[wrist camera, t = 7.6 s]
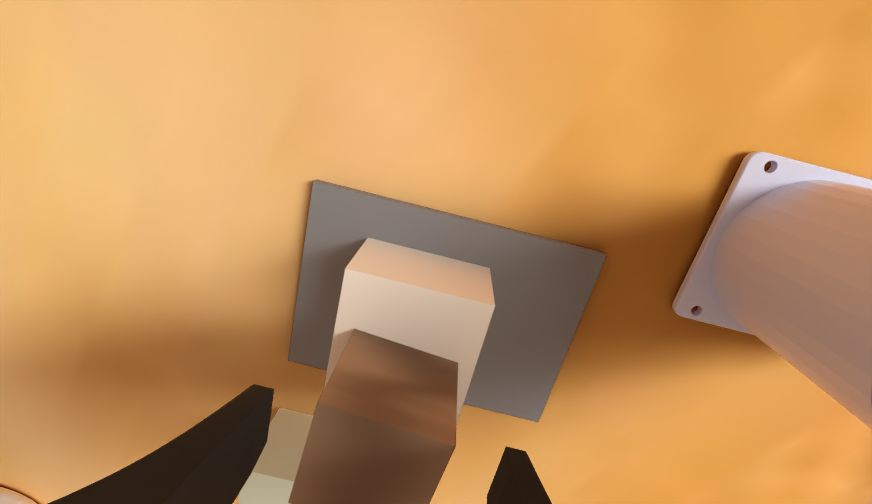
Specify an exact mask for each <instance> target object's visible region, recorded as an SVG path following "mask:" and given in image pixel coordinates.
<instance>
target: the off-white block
mask: <svg viewBox="0 0 872 504" xmlns="http://www.w3.org/2000/svg"><path fill="white" fill-rule="evenodd" d="M494 308H495V301H494V294H493V287H492V280H491V273H490V268H488V267H484V266H480V265H476V264H472V263H468V262H464V261H460V260H456V259H452V258H448V257H444V256H440V255H436V254H432V253H428V252H424V251H420V250H416V249H412V248H408V247H404V246H400V245H396V244H392V243H388V242H384V241H380V240H376V239H372V238H367V239H366V241H365V242H364V244H363V245H362V246H361V248H360V249H359V250H358V252H357V253H356V254H355V256H354V257H353V259H352V260H351V261H350V263H349V264H348V265H347V267H346V268H345V273H344V278H343V284H342V289H341V295H340V300H339V306H338V312H337V317H336V323H335V328H334V334H333V339H332V345H331V351H330V356H329V362H328V367H327V373H326V379H325V384H324V388H325V386H326V384H327V382H328V380H329V378H330V376H331V374H332V372H333V370H334V368H335V366H336V364H337V362H338V360H339V358H340V356H341V354H342V352H343V350H344V348H345V346H346V344H347V342H348V340H349V338H350V336H351V334H352V332H353V330H354V329H357V330H360V331H363V332H366V333H369V334H373V335H376V336H379V337H382V338H385V339H388V340H391V341H394V342H397V343H400V344H403V345H406V346H409V347H412V348H415V349H418V350H421V351H424V352H427V353H430V354H433V355H436V356H439V357H442V358H445V359H448V360H451V361H454V362H457V363H458V386H457V417H456V425H457V422H458V419H459V416H460V412H461V409H462V406H463V403H464V400H465V397H466V394H467V391H468V388H469V385H470V382H471V379H472V376H473V372H474V369H475V366H476V363H477V360H478V357H479V354H480V351H481V348H482V345H483V342H484V339H485V335H486V332H487V329H488V326H489V323H490V320H491V317H492V314H493V311H494Z"/></svg>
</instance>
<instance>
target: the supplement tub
mask: <svg viewBox="0 0 872 504" xmlns="http://www.w3.org/2000/svg"><path fill="white" fill-rule="evenodd" d="M0 504H37V503H36V502H34V501H33V500H31V499H29V498H28V497H26V496H24V495H22V494H20V493H17V492H15V491H12V490H9V489H6V488H3V487H0Z"/></svg>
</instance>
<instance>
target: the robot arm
mask: <svg viewBox="0 0 872 504" xmlns="http://www.w3.org/2000/svg"><path fill="white" fill-rule="evenodd" d="M769 161H770V162H771V167H770V168H769V169H768V170H767V171H765V170H764V166H765V164H766V163H767V162H769ZM694 306H698V308H697V310H696V311H693V312H691V309H692V308H693V307H694ZM672 308H673V310H674V311H675V313H676V314H677V315H679V316H681V317H685V318H689V319H693V320H697V321H700V322H704V323H708V324H712V325H716V326H720V327H724V328H728V329H732V330H736V331H740V332H744V333H748V334H752V335H755V336H757V337H758V338H759V339H760V340H762V341H763V342H764V343H765V344H767V345H768V346H769V347H770V348H771V349H773V350H774V351H775V352H776V353H778V354H779V355H780V356H781V357H783V358H784V359H785V360H786V361H788V362H789V363H790V364H791V365H793V366H794V367H795V368H796V369H798V370H799V371H800V372H801V373H803V374H804V375H805V376H806V377H807V378H809V379H810V380H811V381H812V382H814V383H815V384H816V385H817V386H819V387H820V388H821V389H822V390H824V391H825V392H826V393H827V394H829V395H830V396H831V397H832V398H834V399H835V400H836V401H837V402H839V403H840V404H841V405H842V406H843V407H845V408H846V409H847V410H848V411H850V412H851V413H852V414H853V415H855V416H856V417H857V418H858V419H860V420H861V421H862V422H863V423H865V424H866V425H867V426H868V427H870V428H871V429H872V180H871V179H867V178H863V177H859V176H855V175H851V174H848V173H844V172H840V171H836V170H832V169H828V168H824V167H821V166H817V165H813V164H809V163H805V162H801V161H797V160H794V159H790V158H786V157H782V156H778V155H774V154H770V153H767V152H762V151H753V152H750V153H749V154H747V155H746V156H745V158H744V159H743V161H742V163H741V165H740V167H739V169H738V171H737V173H736V175H735V177H734V179H733V181H732V183H731V185H730V187H729V189H728V191H727V193H726V195H725V197H724V199H723V201H722V203H721V205H720V208H719V210H718V212H717V214H716V216H715V218H714V220H713V222H712V224H711V226H710V228H709V230H708V232H707V234H706V236H705V238H704V240H703V242H702V244H701V246H700V248H699V250H698V252H697V254H696V257H695V259H694V261H693V263H692V265H691V267H690V269H689V271H688V273H687V275H686V277H685V279H684V281H683V283H682V285H681V287H680V289H679V291H678V293H677V295H676V297H675V299H674V301H673V304H672ZM273 393H274V389H271V388H267V387H263V386H259V385H255V384H254V385H252V386H250V387H249V388H248V389H246V390H245V391H243V392H242V393H241V394H239V395H238V396H237V397H235V398H234V399H233V400H231V401H230V402H228V403H227V404H226V405H224V406H223V407H221V408H220V409H219V410H217V411H216V412H214V413H213V414H212V415H210V416H209V417H207V418H206V419H204V420H203V421H201V422H200V423H198V424H197V425H195V426H194V427H192V428H191V429H189V430H188V431H186V432H185V433H183V434H181V435H180V436H178V437H177V438H175V439H173V440H172V441H170V442H169V443H167V444H165V445H164V446H162V447H160V448H159V449H157V450H155V451H154V452H152V453H150V454H149V455H147V456H145V457H143V458H142V459H140V460H138V461H136V462H134V463H132V464H131V465H129V466H127V467H125V468H123V469H121V470H119V471H117V472H115V473H113V474H111V475H109V476H107V477H105V478H103V479H101V480H99V481H97V482H95V483H93V484H91V485H89V486H86V487H84V488H82V489H80V490H78V491H76V492H73V493H71V494H69V495H67V496H65V497H62V498H60V499H58V500H55V501H53V502H50V503H48V504H232V503H233V502H234V500H235V499H236V497H237V496H238V494H239V492H240V491H241V489H242V488H243V486H244V485H245V483H246V481H247V480H248V478H249V476H250V475H251V473H252V471H253V469H254V467H255V465H256V463H257V461H258V459H259V457H260V455H261V453H262V451H263V449H264V447H265V445H266V443H267V439H268V431H269V424H270V416H271V408H272V401H273ZM487 504H552V503H551V501H550V499H549V497H548V495H547V493H546V491H545V489H544V487H543V485H542V483H541V481H540V479H539V477H538V475H537V473H536V471H535V469H534V467H533V465H532V463H531V461H530V459H529V457H528V455H527V453H526V451H522V450H518V449H514V448H510V447H506V448H505V451H504V453H503V456H502V458H501V461H500V464H499V466H498V469H497V471H496V474H495V476H494V479H493V482H492V484H491V487H490V489H489V492H488V495H487Z"/></svg>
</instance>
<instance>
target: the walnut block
mask: <svg viewBox="0 0 872 504" xmlns="http://www.w3.org/2000/svg"><path fill="white" fill-rule="evenodd" d="M457 386H458V363H457V362H454V361H451V360H448V359H445V358H442V357H439V356H436V355H433V354H430V353H427V352H424V351H421V350H418V349H415V348H412V347H409V346H406V345H403V344H400V343H397V342H394V341H391V340H388V339H385V338H382V337H379V336H376V335H373V334H369V333H366V332H363V331H360V330H357V329H354V330H353V332H352V334H351V336H350V338H349V340H348V342H347V344H346V346H345V348H344V350H343V352H342V354H341V356H340V358H339V360H338V362H337V364H336V366H335V368H334V370H333V372H332V374H331V376H330V378H329V380H328V382H327V384H326V386H325V388H324V390H323V392H322V394H321V396H320V398H319V400H318V402H317V406H316V409H315V412H314V416H313V419H312V423H311V426H310V429H309V433H308V436H307V440H306V443H305V447H304V450H303V453H302V457H301V460H300V464H299V467H298V470H297V474H296V477H295V481H294V484H293V488H292V491H291V494H290V498H289V501H288V503H291V504H429V503H430V501H431V499H432V497H433V495H434V492H435V490H436V488H437V486H438V484H439V481H440V479H441V477H442V475H443V473H444V471H445V468H446V466H447V464H448V462H449V460H450V457H451V455H452V453H453V451H454V449H455V447H456V417H457Z"/></svg>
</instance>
